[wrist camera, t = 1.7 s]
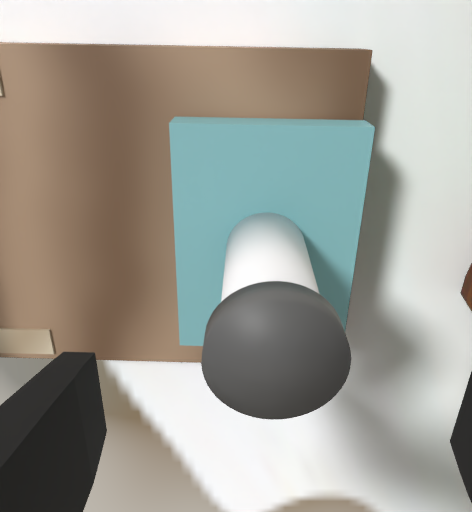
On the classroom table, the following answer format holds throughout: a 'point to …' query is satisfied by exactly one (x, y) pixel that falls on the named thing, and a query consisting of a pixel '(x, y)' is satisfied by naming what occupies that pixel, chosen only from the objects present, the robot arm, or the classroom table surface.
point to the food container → (468, 288)
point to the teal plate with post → (268, 254)
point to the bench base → (124, 178)
